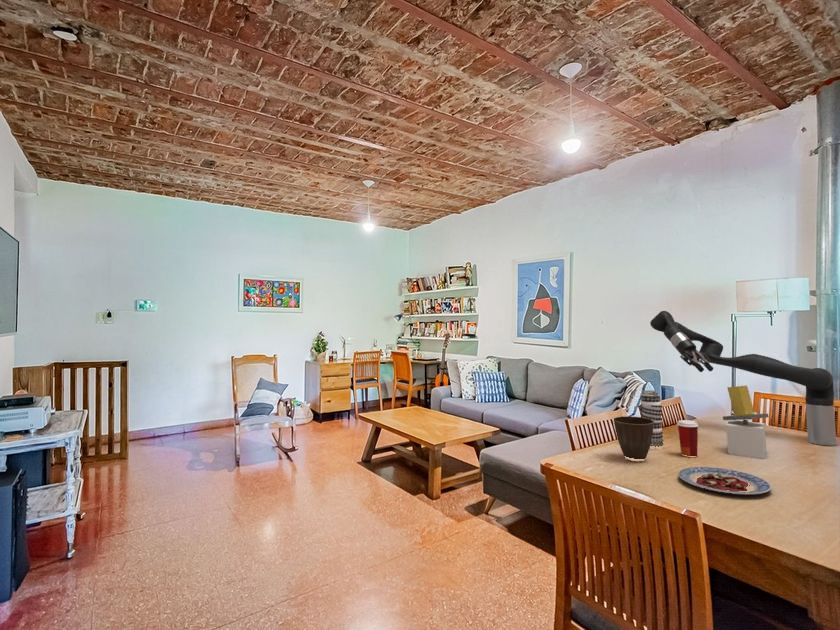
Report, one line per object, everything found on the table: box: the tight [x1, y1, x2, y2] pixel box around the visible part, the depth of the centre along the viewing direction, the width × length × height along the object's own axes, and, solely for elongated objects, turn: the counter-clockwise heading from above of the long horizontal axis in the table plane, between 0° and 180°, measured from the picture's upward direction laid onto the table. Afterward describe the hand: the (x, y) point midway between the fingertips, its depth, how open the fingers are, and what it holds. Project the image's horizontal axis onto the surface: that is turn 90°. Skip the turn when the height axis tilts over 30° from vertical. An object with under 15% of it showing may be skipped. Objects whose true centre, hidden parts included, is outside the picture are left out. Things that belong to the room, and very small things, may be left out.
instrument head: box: [722, 385, 770, 421], centre depth 182 cm, size 12×10×14 cm
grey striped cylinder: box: [639, 389, 664, 447], centre depth 193 cm, size 9×9×25 cm
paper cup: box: [676, 419, 699, 457], centre depth 179 cm, size 8×8×14 cm
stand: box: [725, 419, 767, 460], centre depth 180 cm, size 12×12×14 cm
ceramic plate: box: [677, 466, 772, 495], centre depth 145 cm, size 26×26×3 cm
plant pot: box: [613, 416, 654, 460], centre depth 176 cm, size 15×15×16 cm
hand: (707, 370), depth 197 cm, fingers open, 5 cm apart
